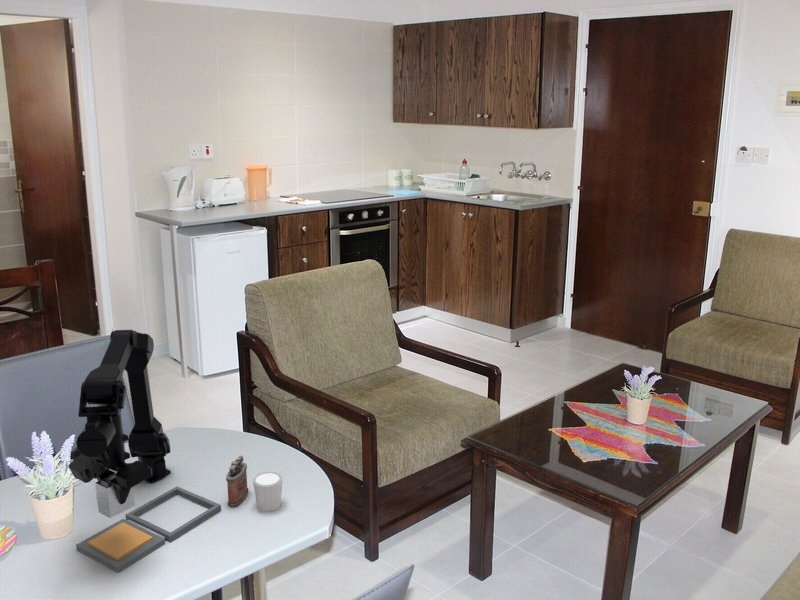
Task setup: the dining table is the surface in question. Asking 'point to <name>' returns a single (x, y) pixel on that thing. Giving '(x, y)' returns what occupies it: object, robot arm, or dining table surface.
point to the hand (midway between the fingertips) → (116, 500)
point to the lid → (121, 544)
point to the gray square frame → (171, 536)
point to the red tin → (237, 482)
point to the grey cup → (268, 490)
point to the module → (111, 498)
